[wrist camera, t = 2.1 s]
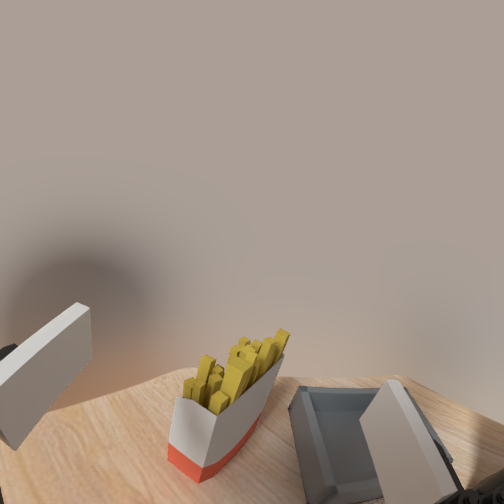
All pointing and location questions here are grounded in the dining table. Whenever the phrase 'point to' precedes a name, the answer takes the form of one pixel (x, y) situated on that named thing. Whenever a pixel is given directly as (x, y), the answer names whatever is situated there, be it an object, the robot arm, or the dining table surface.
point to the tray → (337, 444)
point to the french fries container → (223, 406)
